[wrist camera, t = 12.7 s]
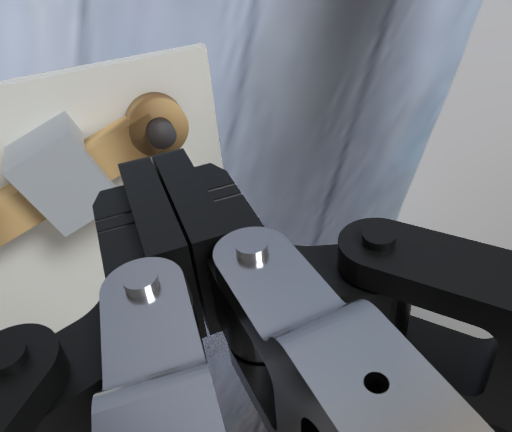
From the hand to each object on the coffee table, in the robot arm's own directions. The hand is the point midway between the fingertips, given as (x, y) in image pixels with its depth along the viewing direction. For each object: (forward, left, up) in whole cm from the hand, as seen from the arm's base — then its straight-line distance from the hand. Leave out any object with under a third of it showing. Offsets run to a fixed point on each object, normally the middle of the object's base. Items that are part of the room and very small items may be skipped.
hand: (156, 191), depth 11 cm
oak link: (+4, +11, -25) cm, 28 cm away
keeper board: (+4, +16, -27) cm, 32 cm away
